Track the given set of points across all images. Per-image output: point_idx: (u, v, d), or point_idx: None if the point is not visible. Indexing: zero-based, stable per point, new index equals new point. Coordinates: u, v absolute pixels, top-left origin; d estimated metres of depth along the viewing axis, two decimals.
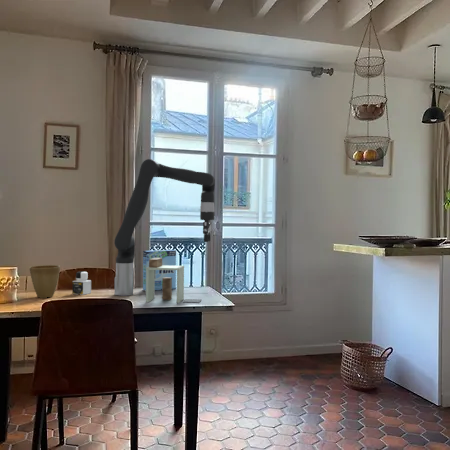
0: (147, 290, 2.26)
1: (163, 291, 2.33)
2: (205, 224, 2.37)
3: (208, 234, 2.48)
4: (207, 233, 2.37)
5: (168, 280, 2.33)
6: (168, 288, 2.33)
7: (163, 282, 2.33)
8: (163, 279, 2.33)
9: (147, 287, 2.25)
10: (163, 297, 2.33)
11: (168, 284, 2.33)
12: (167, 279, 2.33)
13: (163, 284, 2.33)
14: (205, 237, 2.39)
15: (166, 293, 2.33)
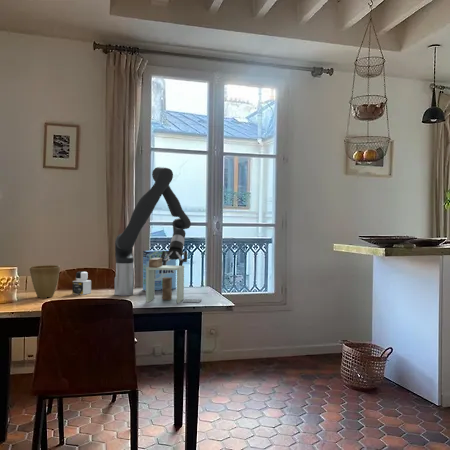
0: (147, 290, 2.26)
1: (163, 291, 2.33)
2: (187, 254, 2.51)
3: (166, 261, 2.49)
4: None
5: (168, 280, 2.33)
6: (168, 288, 2.33)
7: (163, 282, 2.33)
8: (163, 279, 2.33)
9: (147, 287, 2.25)
10: (163, 297, 2.33)
11: (168, 284, 2.33)
12: (167, 279, 2.33)
13: (163, 284, 2.33)
14: (182, 263, 2.47)
15: (166, 293, 2.33)
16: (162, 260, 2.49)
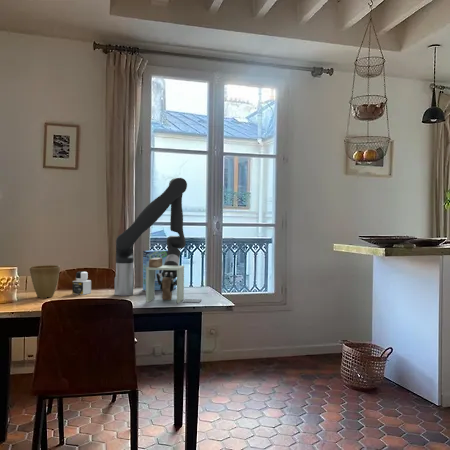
0: (147, 290, 2.26)
1: (163, 291, 2.33)
2: None
3: None
4: None
5: (168, 280, 2.33)
6: (168, 288, 2.33)
7: (163, 282, 2.33)
8: (163, 279, 2.33)
9: (147, 287, 2.25)
10: (163, 297, 2.33)
11: (168, 284, 2.33)
12: (167, 279, 2.33)
13: (163, 284, 2.33)
14: (173, 287, 2.34)
15: (166, 293, 2.33)
16: None
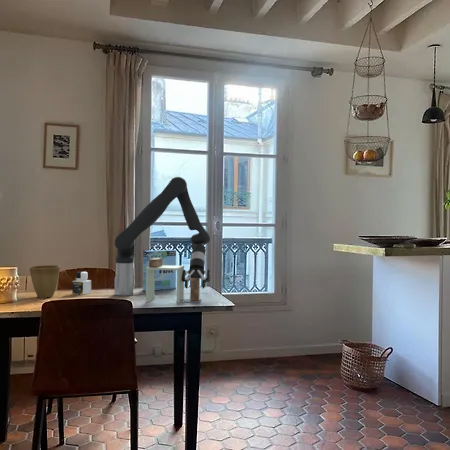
0: (147, 290, 2.26)
1: (191, 292, 2.26)
2: (209, 273, 2.32)
3: (187, 281, 2.29)
4: (208, 281, 2.30)
5: (196, 281, 2.26)
6: (196, 289, 2.26)
7: (191, 283, 2.26)
8: (191, 280, 2.26)
9: (147, 287, 2.25)
10: (191, 298, 2.26)
11: (196, 285, 2.26)
12: (195, 280, 2.26)
13: (191, 285, 2.26)
14: (205, 283, 2.28)
15: (194, 295, 2.26)
16: (183, 280, 2.30)
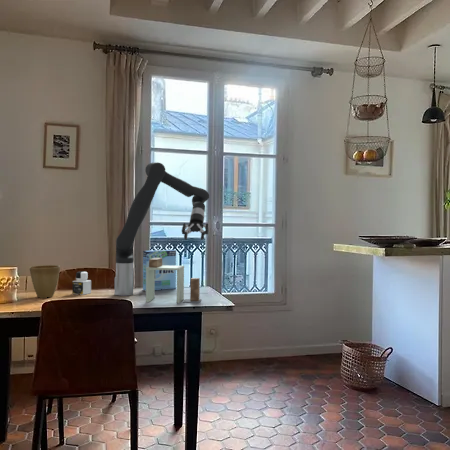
0: (147, 290, 2.26)
1: (191, 292, 2.26)
2: None
3: (187, 234, 2.46)
4: None
5: (196, 281, 2.26)
6: (196, 289, 2.26)
7: (191, 283, 2.26)
8: (191, 280, 2.26)
9: (147, 287, 2.25)
10: (191, 298, 2.26)
11: (196, 285, 2.26)
12: (195, 280, 2.26)
13: (191, 285, 2.26)
14: (203, 235, 2.44)
15: (194, 295, 2.26)
16: (183, 232, 2.46)
